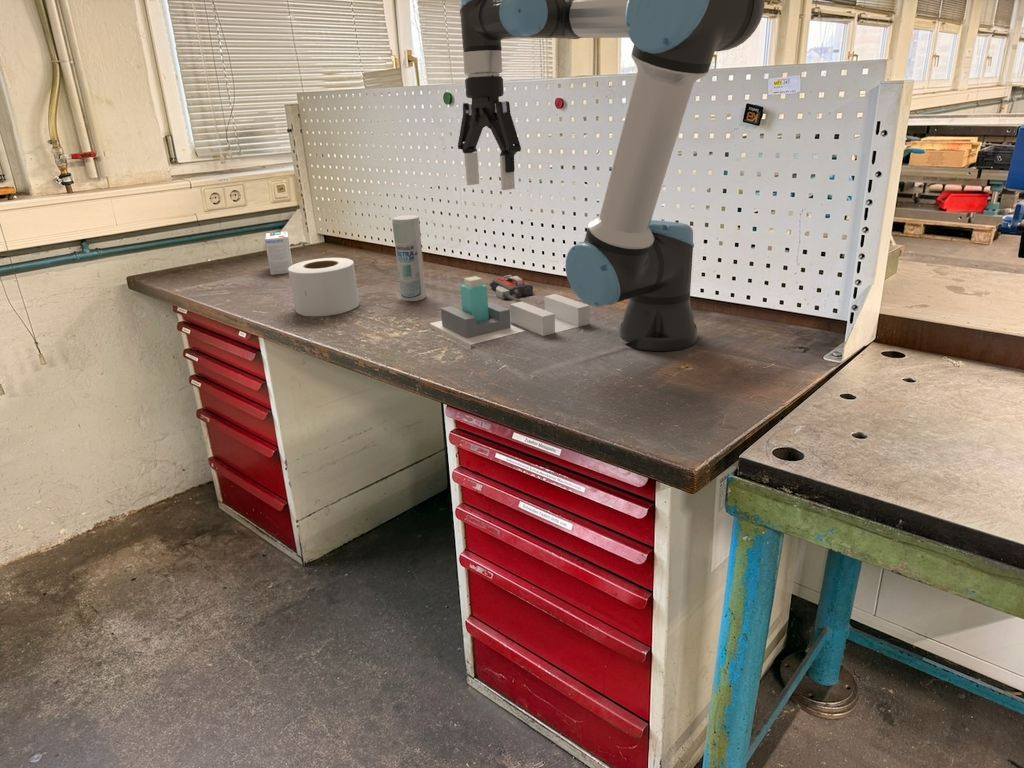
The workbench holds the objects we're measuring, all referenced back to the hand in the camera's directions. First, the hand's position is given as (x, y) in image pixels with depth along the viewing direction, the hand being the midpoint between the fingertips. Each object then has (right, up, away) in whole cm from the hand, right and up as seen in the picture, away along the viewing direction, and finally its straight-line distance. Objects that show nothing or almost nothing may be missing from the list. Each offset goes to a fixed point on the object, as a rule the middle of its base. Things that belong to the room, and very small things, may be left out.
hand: (490, 187), depth 144 cm
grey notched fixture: (-3, -30, +3) cm, 30 cm away
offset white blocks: (+13, -29, +3) cm, 32 cm away
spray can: (-20, -20, +30) cm, 41 cm away
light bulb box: (-65, -7, +66) cm, 93 cm away
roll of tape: (-41, -23, +26) cm, 53 cm away
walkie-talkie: (+5, -19, +29) cm, 35 cm away
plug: (-3, -29, +2) cm, 29 cm away
